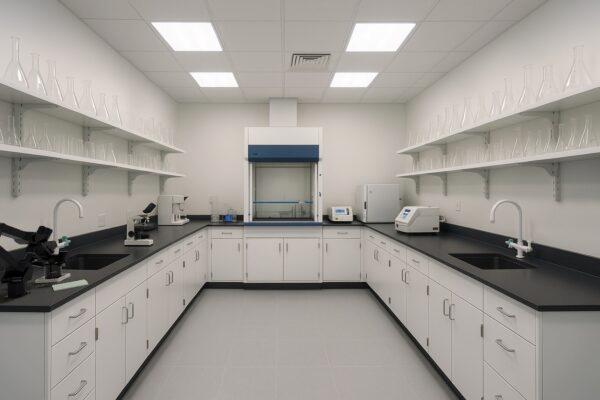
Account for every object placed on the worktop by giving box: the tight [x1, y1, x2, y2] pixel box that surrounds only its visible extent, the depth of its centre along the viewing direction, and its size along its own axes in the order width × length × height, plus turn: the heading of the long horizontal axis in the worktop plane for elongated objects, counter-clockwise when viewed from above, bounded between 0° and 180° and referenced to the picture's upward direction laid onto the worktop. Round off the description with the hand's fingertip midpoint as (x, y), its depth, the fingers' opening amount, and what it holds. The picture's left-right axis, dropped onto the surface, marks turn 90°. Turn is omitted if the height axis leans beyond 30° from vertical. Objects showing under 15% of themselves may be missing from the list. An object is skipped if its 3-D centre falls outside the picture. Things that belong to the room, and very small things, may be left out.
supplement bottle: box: [44, 259, 63, 279], centre depth 152 cm, size 7×7×12 cm
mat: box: [51, 279, 89, 292], centre depth 142 cm, size 13×10×1 cm
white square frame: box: [35, 273, 71, 284], centre depth 152 cm, size 10×10×2 cm
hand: (54, 266), depth 153 cm, fingers open, 9 cm apart
